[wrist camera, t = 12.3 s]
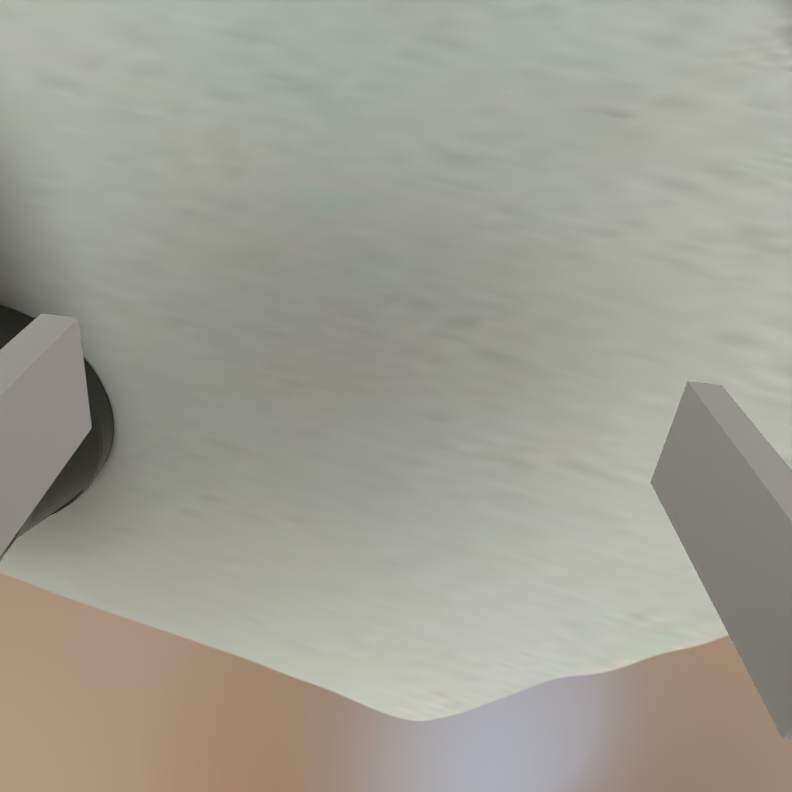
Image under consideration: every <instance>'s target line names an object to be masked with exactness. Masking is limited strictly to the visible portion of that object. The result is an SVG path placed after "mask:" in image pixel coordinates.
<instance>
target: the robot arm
mask: <svg viewBox="0 0 792 792" xmlns="http://www.w3.org/2000/svg"><path fill="white" fill-rule="evenodd" d="M112 440H113V419H112V413H111V409H110V405H109V402H108V399H107V396H106V394H105V391H104V389H103V387H102V385H101V383H100V382H99V380H98V378H97V377H96V375H95V373H94V372H93V371H92V369H91V368H90V366H89V365H88V364H87V363H86V361H85V360H84V358H83V350H82V342H81V333H80V325H79V317H70V316H61V315H51V314H42V313H41V314H40V315H39V316H38V317H37V318H36V319H32V318H30V317H28V316H26V315H23V314H21V313H19V312H16V311H14V310H11V309H8V308H5V307H2V306H0V560H1V559H2V557H3V556H4V554H5V553H6V552H7V550H8V549H9V548H10V546H11V545H12V544H13V542H14V541H15V540H16V538H18V537H19V536H21V535H22V534H24V533H25V532H26V531H28V530H29V529H31V528H32V527H34V526H35V525H37V524H38V523H40V522H41V521H43V520H44V519H46V518H47V517H48V516H50V515H52V514H54V513H56V512H58V511H60V510H62V509H63V508H65V507H67V506H68V505H70V504H71V503H73V502H74V501H75V500H77V499H78V498H79V497H80V496H81V495H82V494H83V493H84V492H85V491H86V490H87V488H88V487H89V486H90V485H91V483H92V482H93V480H94V479H95V477H96V476H97V474H98V473H99V471H100V470H101V468H102V467H103V465H104V463H105V462H106V460H107V457H108V455H109V452H110V449H111V445H112ZM651 484H652V486H653V488H654V490H655V492H656V494H657V496H658V498H659V500H660V501H661V503H662V505H663V507H664V509H665V511H666V513H667V515H668V517H669V519H670V521H671V523H672V525H673V527H674V529H675V531H676V533H677V535H678V536H679V538H680V540H681V542H682V544H683V546H684V548H685V550H686V552H687V554H688V556H689V558H690V560H691V562H692V564H693V566H694V568H695V570H696V571H697V573H698V575H699V577H700V579H701V581H702V583H703V585H704V587H705V589H706V591H707V593H708V595H709V597H710V599H711V601H712V603H713V605H714V606H715V608H716V610H717V612H718V614H719V616H720V618H721V620H722V622H723V624H724V626H725V628H726V630H727V632H728V634H729V636H730V638H731V640H732V641H733V643H734V645H735V647H736V649H737V651H738V653H739V655H740V657H741V659H742V661H743V663H744V665H745V667H746V669H747V671H748V673H749V675H750V676H751V678H752V680H753V682H754V684H755V686H756V688H757V690H758V692H759V694H760V696H761V698H762V700H763V702H764V704H765V705H766V707H767V710H768V711H769V713H770V715H771V717H772V719H773V721H774V723H775V725H776V727H777V729H778V731H779V733H780V735H781V737H782V738H787V739H792V470H791V469H790V468H789V467H788V465H787V464H786V463H785V462H784V460H783V459H782V458H781V457H780V456H779V454H778V453H777V452H776V451H775V450H774V448H773V447H772V446H771V445H770V444H769V442H768V441H767V440H766V439H765V437H764V436H763V435H762V434H761V433H760V431H759V430H758V429H757V428H756V427H755V425H754V424H753V423H752V422H751V420H750V419H749V418H748V417H747V416H746V414H745V413H744V412H743V411H742V410H741V408H740V407H739V406H738V405H737V403H736V402H735V401H734V400H733V399H732V397H731V396H730V395H729V394H728V393H727V391H726V390H725V389H724V388H723V386H722V385H716V384H707V383H697V382H688V381H687V384H686V387H685V390H684V392H683V395H682V398H681V401H680V403H679V406H678V409H677V412H676V414H675V417H674V420H673V423H672V425H671V428H670V431H669V433H668V436H667V439H666V442H665V444H664V447H663V450H662V453H661V455H660V458H659V461H658V464H657V466H656V469H655V472H654V475H653V477H652V480H651Z"/></svg>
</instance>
